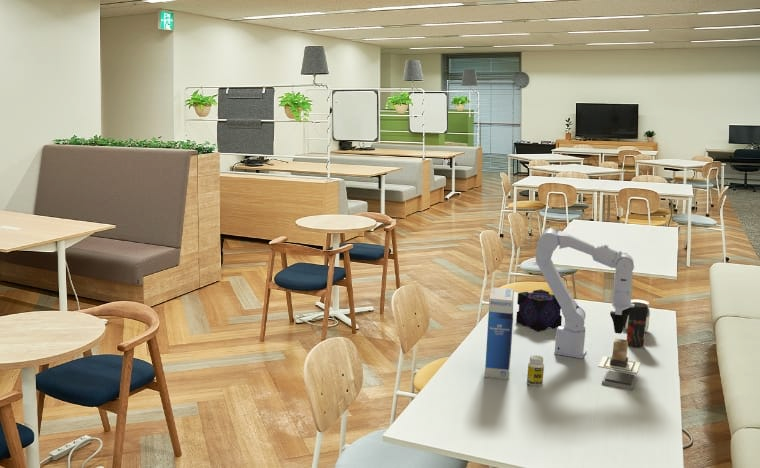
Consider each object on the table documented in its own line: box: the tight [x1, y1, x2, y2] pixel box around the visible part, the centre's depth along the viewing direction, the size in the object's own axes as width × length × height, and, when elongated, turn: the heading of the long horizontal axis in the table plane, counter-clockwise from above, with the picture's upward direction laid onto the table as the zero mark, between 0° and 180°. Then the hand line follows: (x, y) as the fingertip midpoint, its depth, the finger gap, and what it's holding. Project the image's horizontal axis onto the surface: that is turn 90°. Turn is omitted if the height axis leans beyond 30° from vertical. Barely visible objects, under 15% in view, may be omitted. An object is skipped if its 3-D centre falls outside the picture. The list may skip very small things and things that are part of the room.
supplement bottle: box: [526, 354, 545, 387], centre depth 221 cm, size 5×5×8 cm
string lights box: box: [484, 287, 515, 380], centre depth 228 cm, size 13×8×26 cm, turn 168°
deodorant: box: [626, 302, 649, 349], centre depth 256 cm, size 6×6×15 cm
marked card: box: [597, 355, 641, 374], centre depth 238 cm, size 12×10×1 cm
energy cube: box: [515, 288, 563, 332], centre depth 276 cm, size 12×12×12 cm
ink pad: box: [601, 369, 637, 391], centre depth 224 cm, size 9×9×2 cm
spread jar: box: [625, 298, 651, 335], centre depth 272 cm, size 12×11×12 cm
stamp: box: [610, 338, 629, 368], centre depth 237 cm, size 5×5×8 cm
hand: (619, 329), depth 241 cm, fingers open, 7 cm apart
